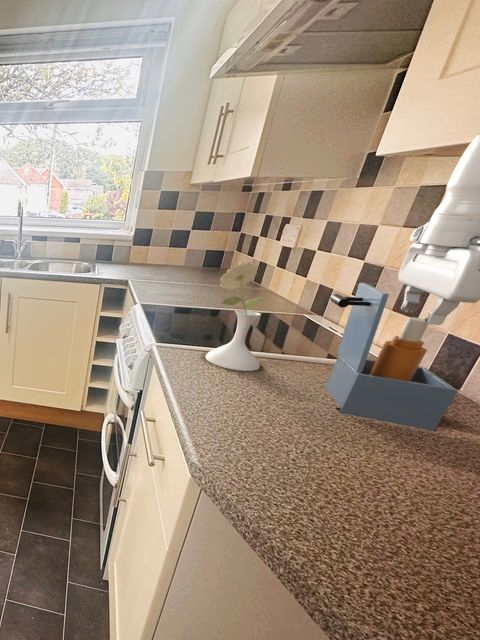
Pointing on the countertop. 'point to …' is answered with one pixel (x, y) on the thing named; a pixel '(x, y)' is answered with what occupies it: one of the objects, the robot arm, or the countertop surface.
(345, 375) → the box
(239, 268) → the flower in vase
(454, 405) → the countertop surface
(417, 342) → the bottle
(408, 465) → the countertop surface
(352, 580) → the countertop surface
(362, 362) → the lid
